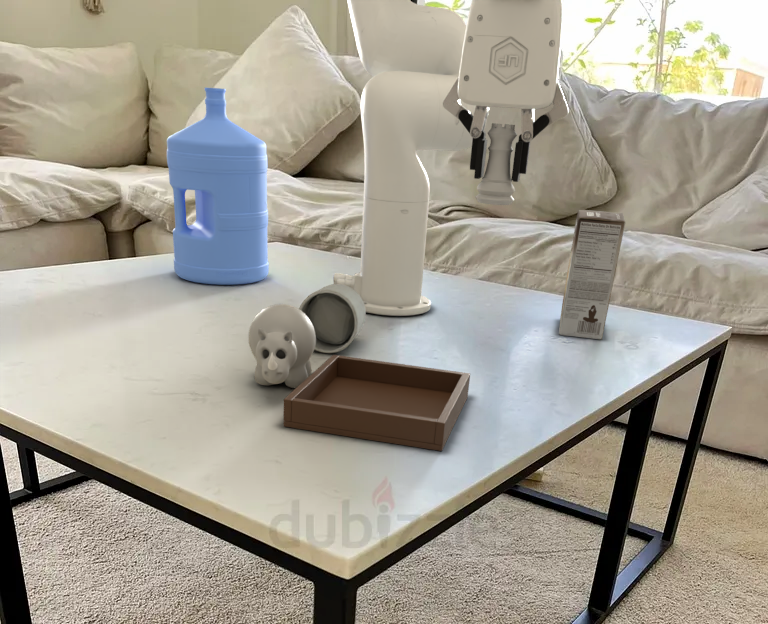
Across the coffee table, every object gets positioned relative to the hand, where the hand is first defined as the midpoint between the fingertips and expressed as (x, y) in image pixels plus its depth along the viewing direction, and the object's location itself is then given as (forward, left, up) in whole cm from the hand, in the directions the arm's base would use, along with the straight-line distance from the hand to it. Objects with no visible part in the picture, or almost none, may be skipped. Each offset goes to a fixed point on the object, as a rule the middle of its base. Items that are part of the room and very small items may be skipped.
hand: (497, 177), depth 87 cm
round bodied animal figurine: (-19, -19, -22) cm, 34 cm away
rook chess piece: (0, 0, -3) cm, 3 cm away
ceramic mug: (-20, -1, -22) cm, 29 cm away
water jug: (-48, +30, -22) cm, 60 cm away
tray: (-7, -21, -21) cm, 31 cm away
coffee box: (+12, +23, -22) cm, 34 cm away
